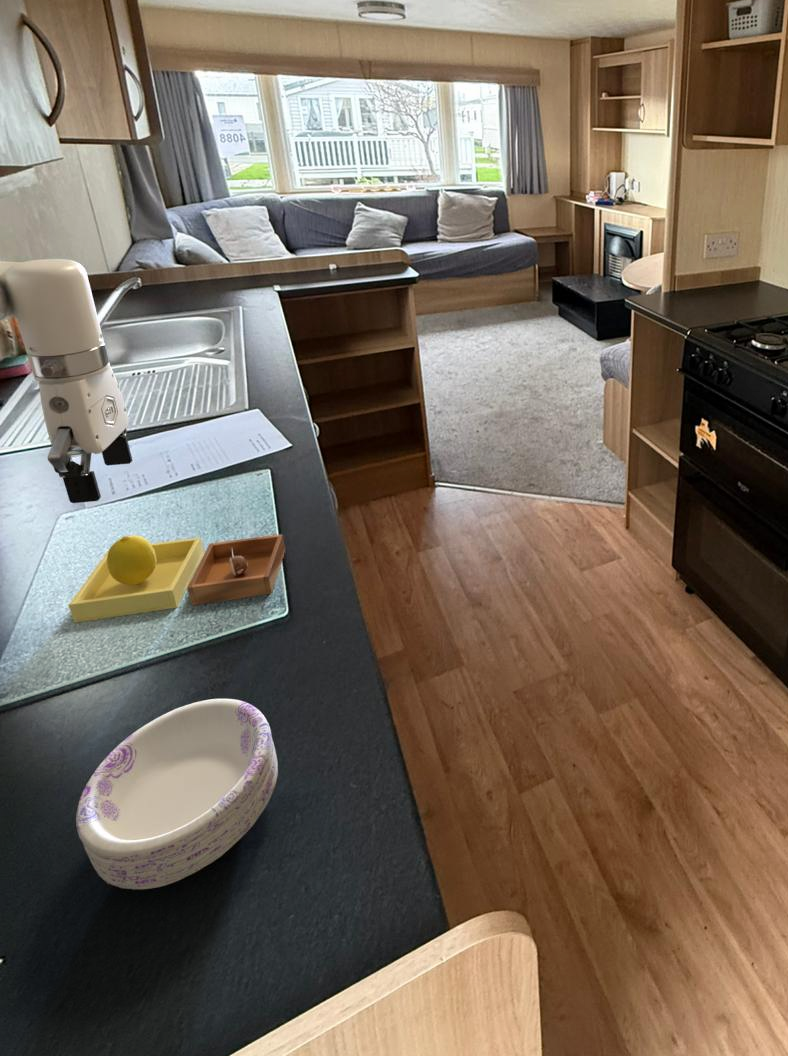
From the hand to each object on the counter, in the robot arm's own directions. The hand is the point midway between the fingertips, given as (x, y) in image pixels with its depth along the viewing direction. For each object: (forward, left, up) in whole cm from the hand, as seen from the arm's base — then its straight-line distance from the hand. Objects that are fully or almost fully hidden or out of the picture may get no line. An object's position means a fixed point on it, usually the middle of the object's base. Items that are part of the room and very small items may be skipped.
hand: (103, 481), depth 86 cm
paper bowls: (+19, -39, -18) cm, 47 cm away
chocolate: (+14, -1, -17) cm, 22 cm away
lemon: (0, 0, -17) cm, 17 cm away
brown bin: (+14, -1, -18) cm, 22 cm away
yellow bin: (+1, 0, -18) cm, 18 cm away
